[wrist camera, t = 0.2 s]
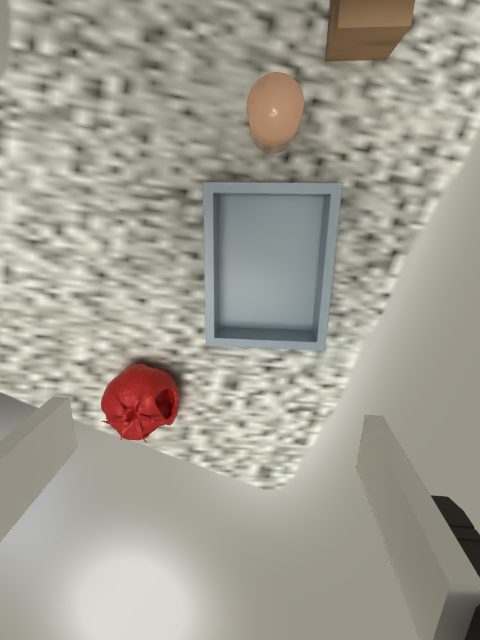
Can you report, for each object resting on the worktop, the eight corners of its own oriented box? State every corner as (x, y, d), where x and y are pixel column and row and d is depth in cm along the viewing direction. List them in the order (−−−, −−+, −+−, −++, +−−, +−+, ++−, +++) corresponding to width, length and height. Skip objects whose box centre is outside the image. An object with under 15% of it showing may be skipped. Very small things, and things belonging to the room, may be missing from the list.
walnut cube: (331, -13, 31) (346, -66, 25) (394, -15, 30) (424, -70, 25) (325, 61, 33) (337, 27, 27) (385, 60, 32) (411, 26, 27)
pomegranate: (109, 399, 47) (70, 441, 38) (132, 344, 44) (96, 376, 35) (169, 429, 48) (145, 476, 39) (196, 376, 45) (177, 416, 36)
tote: (210, 186, 37) (203, 182, 33) (333, 187, 36) (342, 183, 32) (212, 332, 42) (205, 345, 38) (318, 336, 41) (325, 350, 37)
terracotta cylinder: (251, 101, 34) (247, 72, 28) (298, 100, 34) (306, 71, 27) (249, 153, 36) (246, 137, 29) (295, 153, 35) (301, 137, 29)
